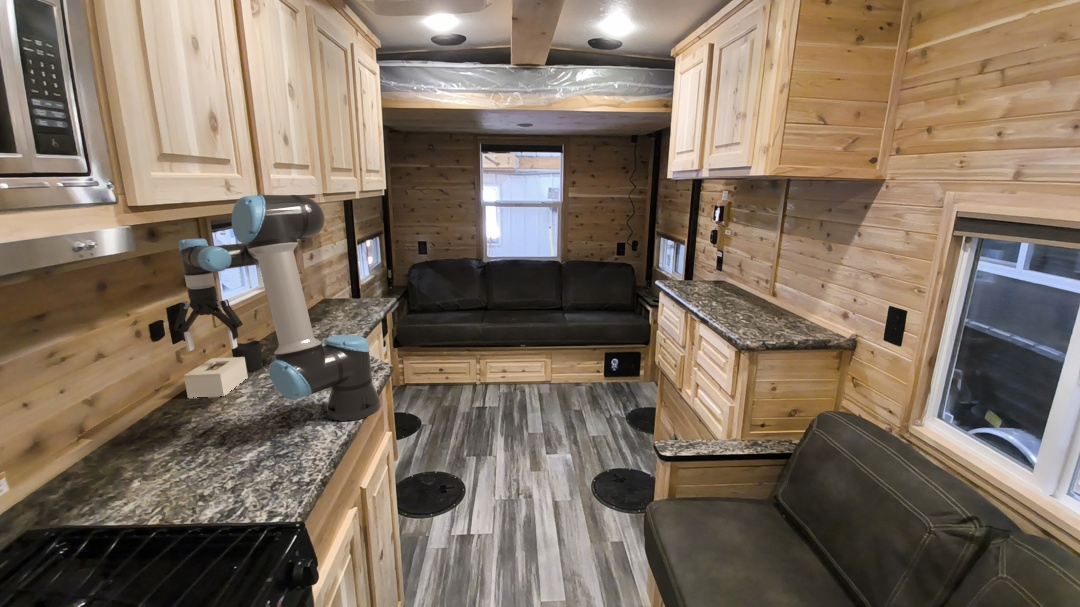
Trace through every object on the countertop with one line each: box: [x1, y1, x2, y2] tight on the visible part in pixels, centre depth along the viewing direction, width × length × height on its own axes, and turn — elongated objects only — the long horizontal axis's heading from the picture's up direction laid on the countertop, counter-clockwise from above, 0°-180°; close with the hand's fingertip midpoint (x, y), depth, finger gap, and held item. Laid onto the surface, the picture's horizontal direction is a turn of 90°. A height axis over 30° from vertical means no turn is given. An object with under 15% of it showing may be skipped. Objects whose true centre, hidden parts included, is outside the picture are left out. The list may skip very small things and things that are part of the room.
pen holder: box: [230, 340, 264, 374], centre depth 177 cm, size 9×9×10 cm
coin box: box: [183, 356, 249, 399], centre depth 161 cm, size 16×11×8 cm
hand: (213, 349), depth 158 cm, fingers open, 13 cm apart
